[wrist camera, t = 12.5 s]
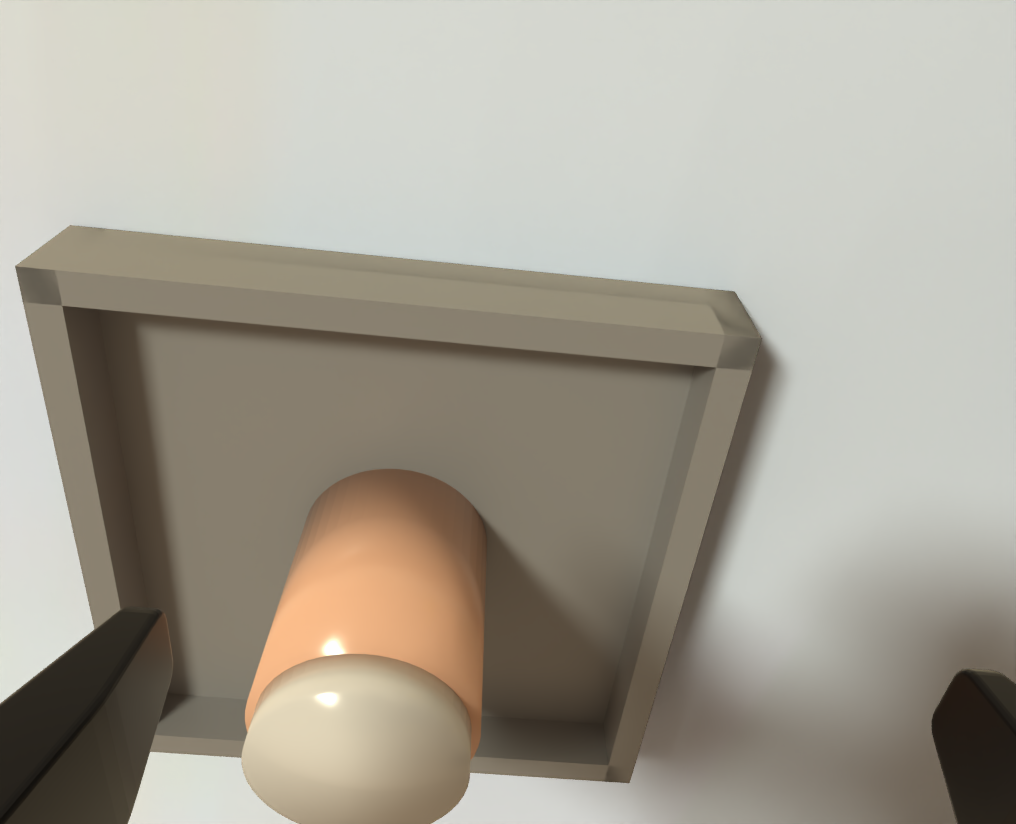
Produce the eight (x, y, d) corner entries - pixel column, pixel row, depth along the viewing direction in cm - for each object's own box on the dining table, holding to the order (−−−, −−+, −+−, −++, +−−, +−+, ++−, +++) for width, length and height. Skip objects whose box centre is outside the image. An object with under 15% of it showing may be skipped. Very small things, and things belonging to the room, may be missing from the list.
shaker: (495, 477, 22) (491, 697, 16) (478, 615, 24) (469, 848, 18) (302, 460, 21) (221, 678, 15) (306, 601, 24) (239, 834, 18)
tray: (734, 291, 20) (761, 338, 18) (620, 716, 28) (629, 783, 26) (69, 225, 19) (15, 266, 17) (151, 683, 27) (120, 749, 25)
